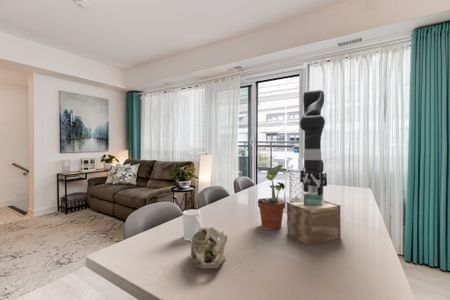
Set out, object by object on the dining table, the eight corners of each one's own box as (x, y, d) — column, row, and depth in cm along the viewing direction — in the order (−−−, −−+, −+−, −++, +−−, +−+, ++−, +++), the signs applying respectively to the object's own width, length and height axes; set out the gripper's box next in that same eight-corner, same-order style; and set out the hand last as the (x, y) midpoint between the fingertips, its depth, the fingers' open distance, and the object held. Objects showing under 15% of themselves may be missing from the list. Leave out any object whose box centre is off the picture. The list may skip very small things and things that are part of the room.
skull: (235, 278, 76) (193, 282, 69) (214, 247, 94) (180, 248, 88) (241, 247, 75) (200, 248, 69) (219, 221, 93) (185, 221, 87)
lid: (289, 205, 106) (288, 192, 106) (314, 201, 112) (314, 189, 112) (310, 213, 93) (310, 198, 93) (338, 208, 99) (338, 194, 99)
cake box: (287, 233, 106) (286, 202, 106) (317, 227, 113) (316, 198, 113) (308, 245, 93) (308, 210, 93) (340, 238, 100) (340, 205, 100)
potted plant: (292, 226, 115) (292, 159, 115) (274, 233, 106) (273, 161, 105) (269, 218, 127) (268, 158, 127) (251, 225, 118) (250, 159, 117)
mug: (207, 240, 99) (207, 214, 99) (189, 245, 94) (189, 217, 94) (196, 232, 109) (196, 208, 109) (180, 236, 104) (179, 211, 104)
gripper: (295, 158, 108) (296, 191, 108) (318, 159, 94) (318, 197, 94) (307, 158, 110) (308, 190, 111) (331, 159, 97) (331, 195, 97)
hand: (312, 193), depth 102 cm, fingers open, 8 cm apart
